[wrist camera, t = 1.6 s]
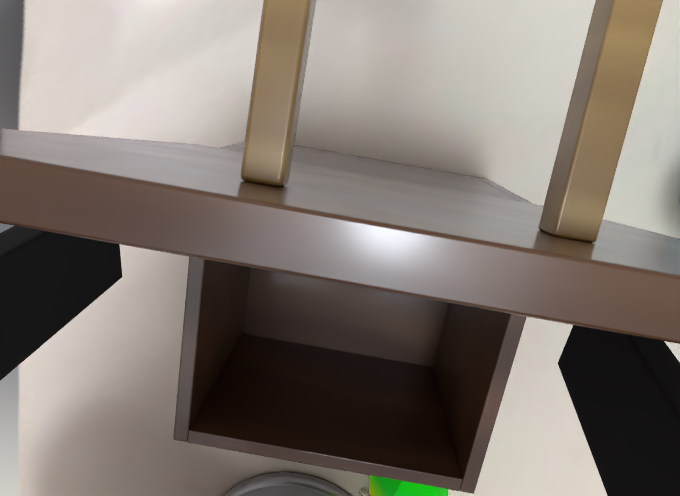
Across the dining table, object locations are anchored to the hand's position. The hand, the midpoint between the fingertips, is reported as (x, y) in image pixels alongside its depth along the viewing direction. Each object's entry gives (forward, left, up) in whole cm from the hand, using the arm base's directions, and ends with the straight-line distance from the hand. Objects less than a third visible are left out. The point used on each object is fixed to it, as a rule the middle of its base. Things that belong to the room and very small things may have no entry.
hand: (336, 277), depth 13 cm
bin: (-6, -1, -22) cm, 23 cm away
